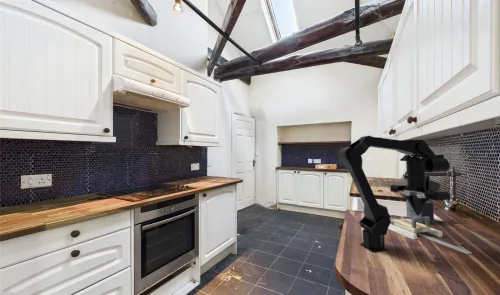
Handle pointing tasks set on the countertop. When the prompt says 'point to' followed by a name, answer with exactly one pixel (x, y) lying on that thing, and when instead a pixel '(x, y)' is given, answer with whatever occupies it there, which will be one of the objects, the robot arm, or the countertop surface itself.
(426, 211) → the small box
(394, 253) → the countertop surface
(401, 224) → the beige hollow block
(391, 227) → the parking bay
